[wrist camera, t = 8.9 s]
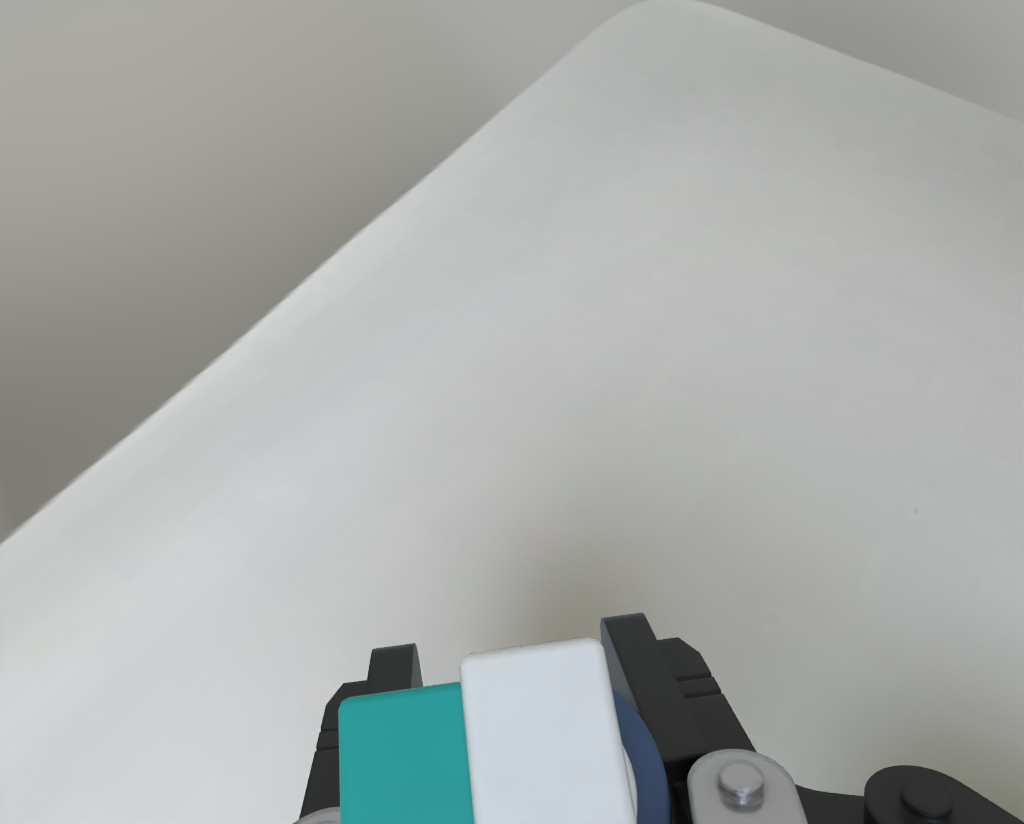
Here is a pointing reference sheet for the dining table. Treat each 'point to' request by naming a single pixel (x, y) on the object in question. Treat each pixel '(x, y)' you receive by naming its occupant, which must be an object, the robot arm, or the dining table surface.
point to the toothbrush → (503, 746)
